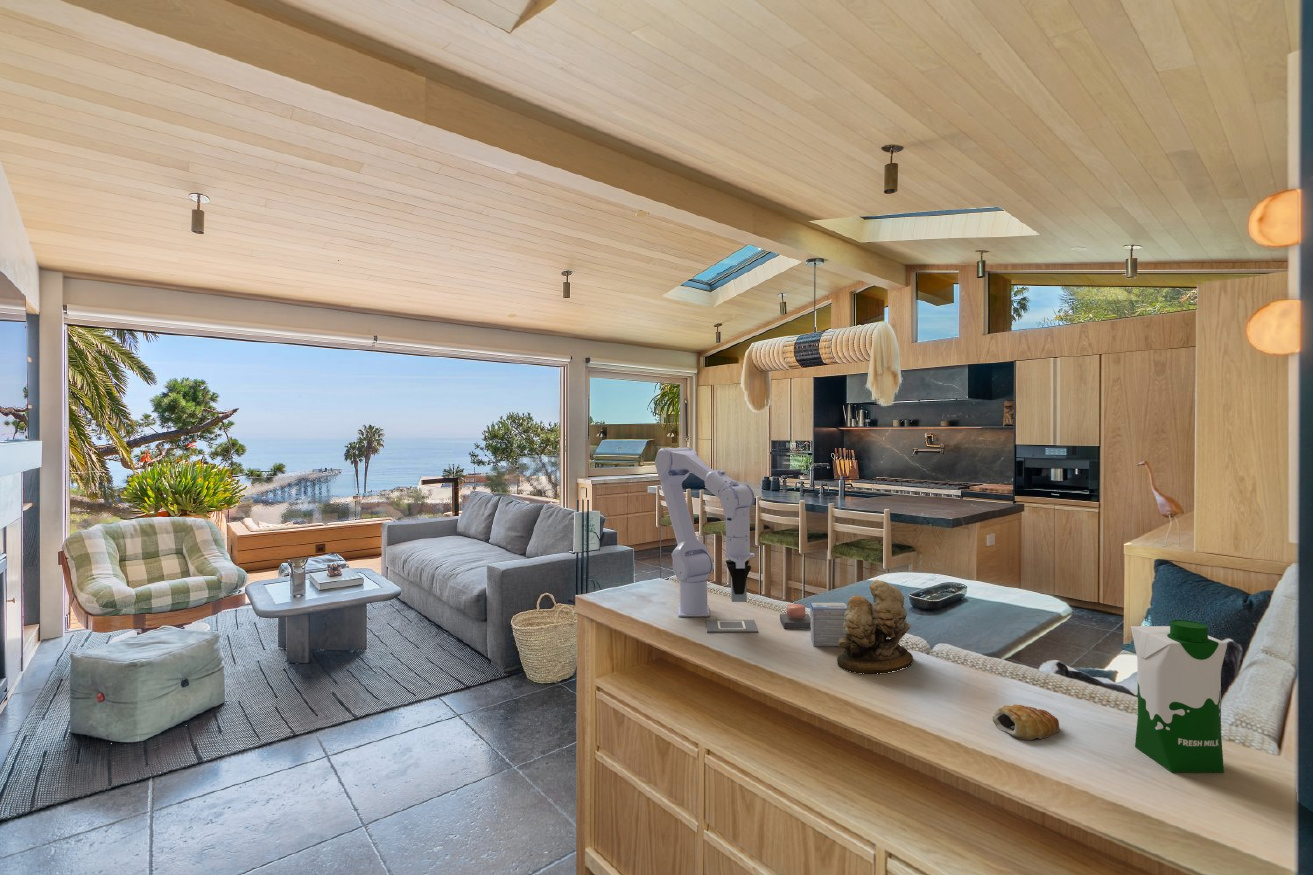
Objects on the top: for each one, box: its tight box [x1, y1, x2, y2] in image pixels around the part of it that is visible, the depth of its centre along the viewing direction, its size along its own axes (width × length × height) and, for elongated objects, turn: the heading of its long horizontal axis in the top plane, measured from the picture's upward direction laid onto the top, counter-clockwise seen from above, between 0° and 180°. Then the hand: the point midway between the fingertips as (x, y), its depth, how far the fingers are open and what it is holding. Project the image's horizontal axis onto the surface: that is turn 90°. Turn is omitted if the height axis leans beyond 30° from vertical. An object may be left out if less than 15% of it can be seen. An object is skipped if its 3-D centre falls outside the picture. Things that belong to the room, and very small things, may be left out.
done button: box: [786, 603, 806, 618], centre depth 155 cm, size 4×4×2 cm
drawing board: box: [705, 619, 759, 634], centre depth 154 cm, size 9×12×1 cm
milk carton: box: [1130, 619, 1228, 774], centre depth 90 cm, size 9×9×20 cm
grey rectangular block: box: [730, 577, 748, 603], centre depth 153 cm, size 4×4×8 cm
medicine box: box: [809, 602, 847, 647], centre depth 141 cm, size 8×4×9 cm, turn 84°
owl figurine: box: [836, 579, 914, 675], centre depth 129 cm, size 18×12×17 cm, turn 120°
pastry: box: [991, 704, 1060, 741], centre depth 100 cm, size 9×7×4 cm
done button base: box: [779, 613, 811, 630], centre depth 155 cm, size 7×7×2 cm
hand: (738, 591), depth 153 cm, fingers closed on grey rectangular block, 3 cm apart
